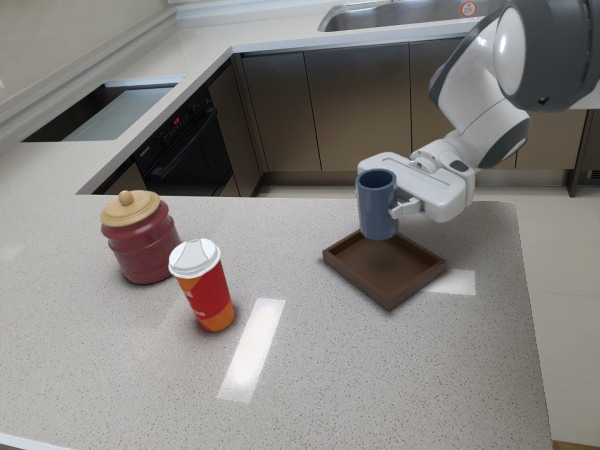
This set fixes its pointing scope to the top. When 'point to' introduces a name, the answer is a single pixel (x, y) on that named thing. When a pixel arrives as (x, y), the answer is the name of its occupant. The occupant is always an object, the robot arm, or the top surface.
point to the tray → (385, 266)
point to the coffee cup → (203, 282)
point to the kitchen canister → (140, 235)
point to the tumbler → (376, 203)
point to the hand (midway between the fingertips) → (373, 204)
